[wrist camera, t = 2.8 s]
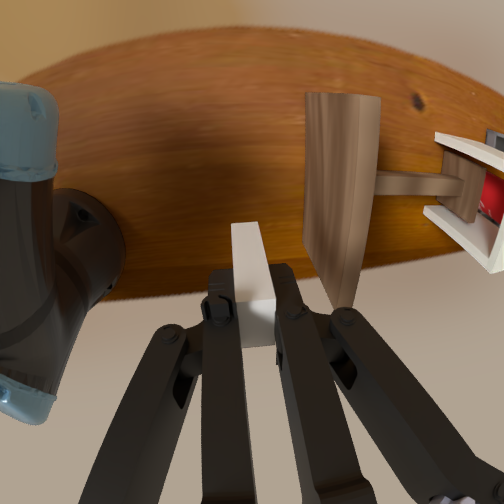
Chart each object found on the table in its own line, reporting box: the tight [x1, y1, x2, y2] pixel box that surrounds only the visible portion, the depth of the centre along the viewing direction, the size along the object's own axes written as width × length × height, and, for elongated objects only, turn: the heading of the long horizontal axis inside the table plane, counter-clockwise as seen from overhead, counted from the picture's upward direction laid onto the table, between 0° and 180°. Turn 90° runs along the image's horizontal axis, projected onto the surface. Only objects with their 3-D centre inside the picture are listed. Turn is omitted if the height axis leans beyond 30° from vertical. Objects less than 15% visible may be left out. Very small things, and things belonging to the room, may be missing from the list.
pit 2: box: [477, 209, 500, 228], centre depth 33 cm, size 8×3×2 cm, turn 92°
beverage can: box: [478, 171, 504, 225], centre depth 25 cm, size 5×5×12 cm
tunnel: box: [423, 132, 504, 274], centre depth 24 cm, size 10×11×14 cm
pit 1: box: [485, 129, 504, 152], centre depth 26 cm, size 8×3×2 cm, turn 92°
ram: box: [302, 93, 487, 310], centre depth 24 cm, size 20×17×12 cm
